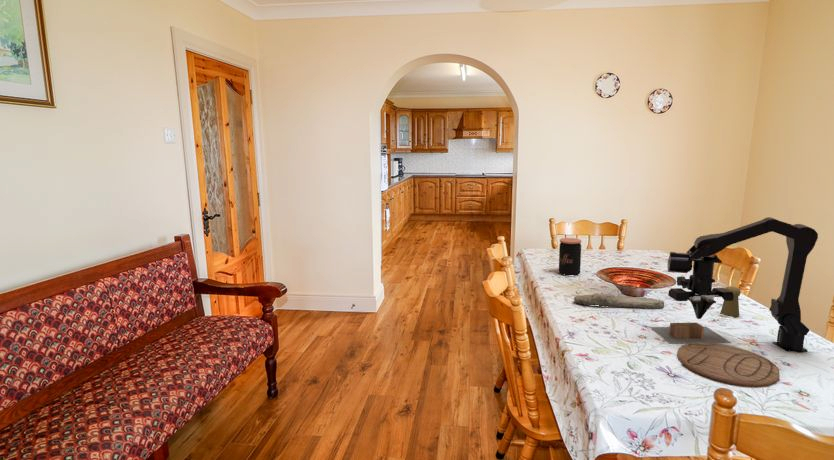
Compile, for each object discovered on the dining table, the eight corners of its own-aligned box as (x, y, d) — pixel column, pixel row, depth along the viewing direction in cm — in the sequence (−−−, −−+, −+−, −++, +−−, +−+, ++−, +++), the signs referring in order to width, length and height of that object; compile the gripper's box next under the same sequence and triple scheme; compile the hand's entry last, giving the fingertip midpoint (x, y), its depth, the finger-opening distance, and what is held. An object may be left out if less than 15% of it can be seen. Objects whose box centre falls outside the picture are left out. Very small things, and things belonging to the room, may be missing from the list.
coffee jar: (554, 272, 234) (555, 239, 231) (569, 270, 238) (570, 237, 235) (568, 277, 224) (570, 242, 221) (584, 274, 229) (586, 240, 225)
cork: (742, 318, 167) (745, 290, 165) (724, 317, 168) (727, 289, 166) (734, 312, 173) (737, 285, 171) (717, 311, 174) (720, 284, 172)
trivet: (665, 367, 132) (666, 361, 132) (689, 341, 150) (690, 335, 149) (771, 398, 115) (772, 392, 114) (785, 365, 132) (785, 359, 132)
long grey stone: (667, 315, 176) (659, 307, 186) (669, 302, 176) (660, 295, 185) (575, 306, 183) (572, 299, 193) (576, 294, 182) (573, 287, 192)
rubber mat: (731, 344, 146) (732, 343, 145) (669, 344, 146) (669, 343, 146) (706, 327, 159) (706, 326, 159) (649, 328, 160) (649, 327, 160)
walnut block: (703, 327, 149) (676, 327, 149) (702, 338, 150) (675, 338, 150) (696, 322, 153) (670, 322, 153) (695, 333, 154) (669, 333, 154)
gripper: (716, 267, 155) (712, 309, 158) (661, 268, 156) (658, 310, 159) (737, 276, 144) (732, 321, 147) (679, 277, 145) (675, 322, 148)
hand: (698, 318), depth 151 cm, fingers closed
